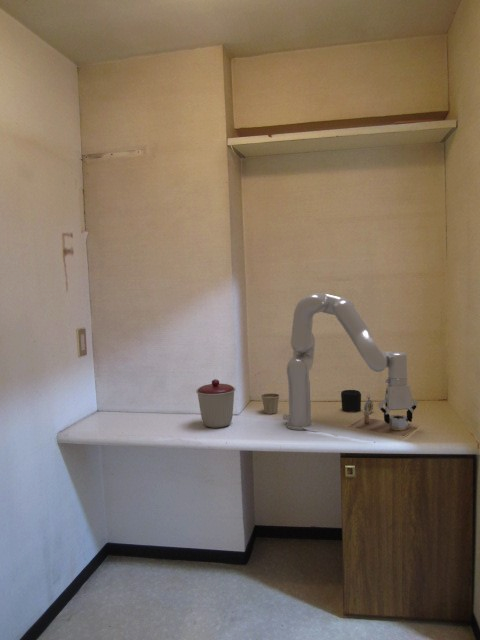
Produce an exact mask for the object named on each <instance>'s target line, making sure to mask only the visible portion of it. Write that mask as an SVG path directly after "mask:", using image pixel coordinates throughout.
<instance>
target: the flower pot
mask: <svg viewBox="0 0 480 640" xmlns="http://www.w3.org/2000/svg"><path fill="white" fill-rule="evenodd" d="M280 396H281V395H280V394H279V393H276V392H271V393H263V394H260V397H261V400H262V405H263V410H264V411H263V412H264V414H267V415H273V414H277V413H278V405H279V399H280Z"/></svg>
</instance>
